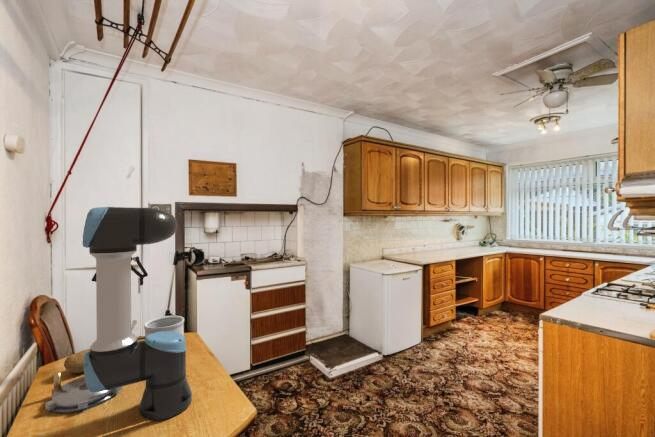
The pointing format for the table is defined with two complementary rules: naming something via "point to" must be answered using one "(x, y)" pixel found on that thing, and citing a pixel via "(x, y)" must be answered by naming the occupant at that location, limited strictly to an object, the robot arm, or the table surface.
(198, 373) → the table surface
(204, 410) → the table surface
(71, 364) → the potato
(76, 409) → the base plate
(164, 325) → the utensil holder
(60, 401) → the sprocket
